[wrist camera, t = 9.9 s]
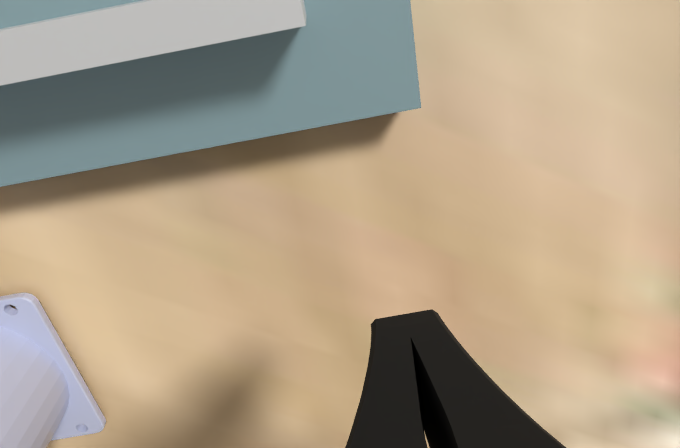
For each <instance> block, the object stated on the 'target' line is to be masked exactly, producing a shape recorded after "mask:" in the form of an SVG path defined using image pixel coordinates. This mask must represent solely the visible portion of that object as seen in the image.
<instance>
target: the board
mask: <svg viewBox="0 0 680 448" xmlns="http://www.w3.org/2000/svg"><path fill="white" fill-rule="evenodd" d="M417 108H421V102H420V92H419V82H418V73H417V63H416V53H415V43H414V34H413V24H412V14H411V4H410V0H0V187H2V186H7V185H12V184H18V183H23V182H28V181H34V180H39V179H44V178H50V177H55V176H60V175H66V174H71V173H76V172H82V171H87V170H92V169H98V168H103V167H108V166H114V165H119V164H124V163H130V162H135V161H140V160H146V159H151V158H156V157H162V156H167V155H172V154H178V153H183V152H188V151H194V150H199V149H204V148H210V147H215V146H220V145H226V144H231V143H236V142H242V141H247V140H252V139H258V138H263V137H268V136H273V135H279V134H284V133H289V132H295V131H300V130H305V129H311V128H316V127H321V126H327V125H332V124H337V123H343V122H348V121H353V120H359V119H364V118H369V117H375V116H380V115H385V114H391V113H396V112H401V111H407V110H412V109H417Z"/></svg>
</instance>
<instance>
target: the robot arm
mask: <svg viewBox="0 0 680 448" xmlns="http://www.w3.org/2000/svg"><path fill="white" fill-rule="evenodd" d="M10 305H13V306H15V307H16V308H17V309H14V308H12V307H11V306H10ZM105 424H106V419H105V417H104V415H103V414H102V412H101V410H100V408H99V406H98V405H97V403H96V401H95V399H94V398H93V396H92V394H91V392H90V391H89V389H88V387H87V385H86V383H85V382H84V380H83V378H82V376H81V375H80V373H79V371H78V369H77V368H76V366H75V364H74V362H73V360H72V359H71V357H70V355H69V353H68V352H67V350H66V348H65V346H64V344H63V343H62V341H61V339H60V337H59V336H58V334H57V332H56V330H55V329H54V327H53V325H52V323H51V321H50V320H49V318H48V316H47V314H46V313H45V311H44V309H43V307H42V305H41V304H40V302H39V300H38V299H37V298H36V297H35V296H33V295H32V294H29V293H17V294H11V295H6V296H0V448H47V446H48V444H49V442H50V441H51V440H57V439H63V438H69V437H75V436H81V435H87V434H93V433H98V432H101V431H102V430H103V428H104V426H105ZM424 431H425V434H426V437H427V440H428V443H429V446H430V448H566V447H565V446H563V445H562V444H561V443H560V442H559V441H557V440H556V439H555V438H554V437H553V436H551V435H550V434H549V433H548V432H547V431H545V430H544V429H543V428H542V427H541V426H540V425H539V424H537V423H536V422H535V421H534V420H533V419H532V418H531V417H530V416H529V415H527V414H526V413H525V412H524V411H523V410H522V409H521V408H520V407H519V406H518V405H517V404H516V403H515V402H514V401H513V400H512V399H511V398H510V397H508V396H507V395H506V394H505V393H504V392H503V391H502V390H501V389H500V388H499V387H498V386H497V385H496V384H495V382H494V381H493V380H492V379H491V378H490V377H489V376H488V375H487V374H486V373H485V372H484V371H483V370H482V368H481V367H480V366H479V365H478V364H477V363H476V362H475V361H474V360H473V359H472V357H471V356H470V355H469V354H468V353H467V352H466V350H465V349H464V348H463V347H462V346H461V344H460V343H459V342H458V341H457V339H456V338H455V337H454V336H453V334H452V333H451V332H450V330H449V329H448V328H447V326H446V325H445V324H444V322H443V321H442V319H441V318H440V316H439V314H438V313H437V312H435V311H434V310H426V311H420V312H415V313H409V314H403V315H397V316H391V317H386V318H380V319H375V320H374V322H373V323H372V324H371V348H370V355H369V362H368V368H367V372H366V377H365V381H364V386H363V391H362V395H361V399H360V403H359V406H358V409H357V413H356V416H355V419H354V423H353V426H352V429H351V433H350V436H349V439H348V442H347V445H346V447H345V448H427V444H426V440H425V434H424Z"/></svg>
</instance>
